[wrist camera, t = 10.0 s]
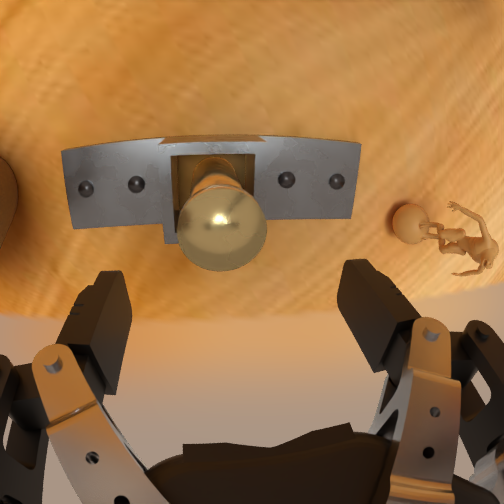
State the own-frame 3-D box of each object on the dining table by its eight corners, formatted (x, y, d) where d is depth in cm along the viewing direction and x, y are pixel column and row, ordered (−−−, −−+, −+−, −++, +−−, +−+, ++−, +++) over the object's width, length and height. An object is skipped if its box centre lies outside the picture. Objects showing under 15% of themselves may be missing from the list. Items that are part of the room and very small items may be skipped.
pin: (240, 151, 22) (269, 188, 13) (239, 200, 24) (264, 269, 15) (187, 152, 21) (173, 190, 12) (188, 202, 23) (180, 273, 14)
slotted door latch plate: (357, 142, 23) (385, 152, 19) (346, 215, 26) (370, 236, 22) (65, 149, 19) (38, 160, 15) (76, 225, 23) (56, 249, 19)
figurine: (376, 190, 26) (462, 249, 15) (420, 166, 25) (509, 211, 15) (392, 254, 30) (459, 323, 19) (431, 230, 29) (501, 286, 19)
